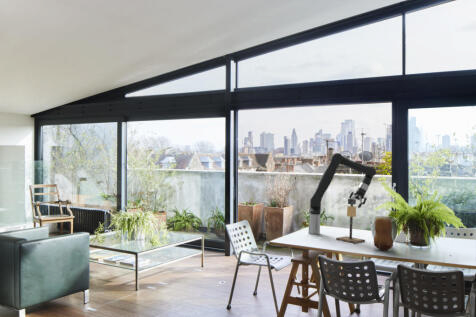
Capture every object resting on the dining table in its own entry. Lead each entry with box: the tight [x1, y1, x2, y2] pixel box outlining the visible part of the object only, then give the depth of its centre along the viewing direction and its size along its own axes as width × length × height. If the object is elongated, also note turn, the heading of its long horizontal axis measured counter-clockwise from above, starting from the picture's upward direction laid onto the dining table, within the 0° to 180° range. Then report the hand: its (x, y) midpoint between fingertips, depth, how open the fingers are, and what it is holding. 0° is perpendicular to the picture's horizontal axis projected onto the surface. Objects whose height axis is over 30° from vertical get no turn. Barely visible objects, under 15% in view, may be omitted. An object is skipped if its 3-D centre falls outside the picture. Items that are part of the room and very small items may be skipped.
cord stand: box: [335, 198, 366, 244], centre depth 344 cm, size 18×14×34 cm
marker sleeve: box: [346, 205, 357, 218], centre depth 343 cm, size 5×5×8 cm
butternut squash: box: [373, 215, 394, 252], centre depth 311 cm, size 14×13×25 cm
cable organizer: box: [394, 231, 406, 243], centre depth 348 cm, size 15×11×12 cm
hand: (354, 205), depth 359 cm, fingers open, 8 cm apart
